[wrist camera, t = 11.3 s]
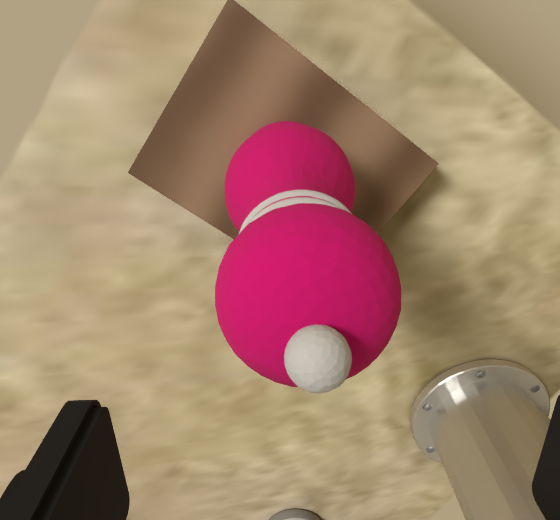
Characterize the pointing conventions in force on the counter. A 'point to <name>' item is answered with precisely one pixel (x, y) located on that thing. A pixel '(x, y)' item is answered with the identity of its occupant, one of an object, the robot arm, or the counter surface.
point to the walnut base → (263, 111)
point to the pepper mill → (302, 263)
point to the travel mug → (294, 515)
